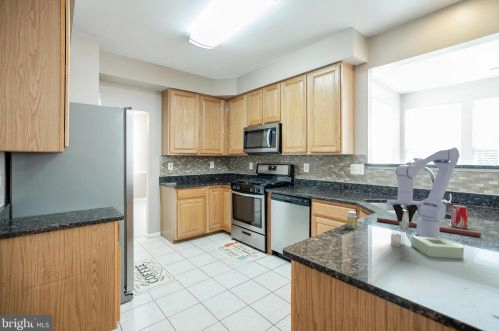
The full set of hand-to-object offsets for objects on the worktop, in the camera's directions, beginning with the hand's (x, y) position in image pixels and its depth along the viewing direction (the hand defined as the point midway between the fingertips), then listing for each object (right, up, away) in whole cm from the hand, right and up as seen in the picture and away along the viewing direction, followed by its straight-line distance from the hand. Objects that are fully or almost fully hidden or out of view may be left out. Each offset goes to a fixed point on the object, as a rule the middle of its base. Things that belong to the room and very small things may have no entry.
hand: (404, 221), depth 109 cm
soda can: (+47, -9, +26) cm, 55 cm away
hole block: (+5, -10, -11) cm, 16 cm away
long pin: (0, -3, 0) cm, 3 cm away
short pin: (-7, -9, -5) cm, 12 cm away
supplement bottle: (-15, -8, +21) cm, 27 cm away
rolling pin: (+25, -10, +22) cm, 34 cm away
